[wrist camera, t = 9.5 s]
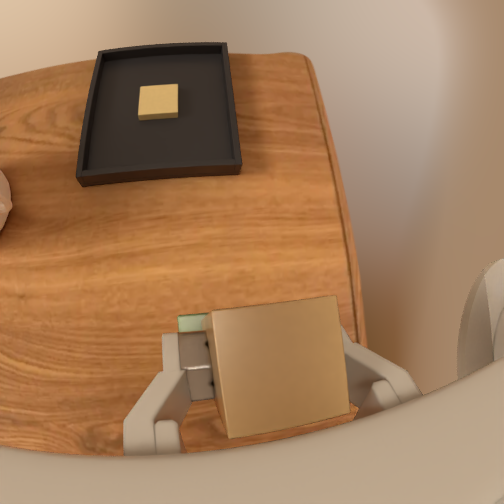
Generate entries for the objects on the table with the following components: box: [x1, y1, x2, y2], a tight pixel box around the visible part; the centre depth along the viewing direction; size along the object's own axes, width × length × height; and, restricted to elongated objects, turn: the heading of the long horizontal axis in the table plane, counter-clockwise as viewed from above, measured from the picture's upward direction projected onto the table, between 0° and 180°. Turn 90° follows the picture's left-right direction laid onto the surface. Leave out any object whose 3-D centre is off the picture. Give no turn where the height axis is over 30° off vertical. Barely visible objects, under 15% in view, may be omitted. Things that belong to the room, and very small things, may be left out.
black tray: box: [76, 42, 242, 187], centre depth 30 cm, size 15×17×2 cm
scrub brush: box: [177, 295, 350, 439], centre depth 11 cm, size 5×4×9 cm
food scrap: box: [138, 84, 178, 121], centre depth 30 cm, size 4×4×1 cm
